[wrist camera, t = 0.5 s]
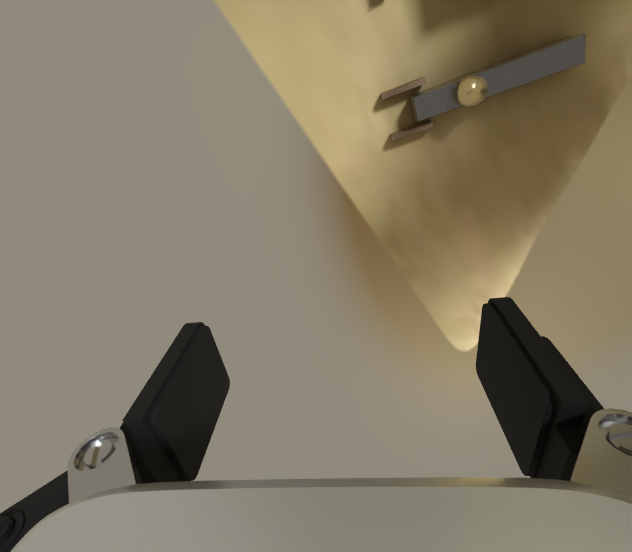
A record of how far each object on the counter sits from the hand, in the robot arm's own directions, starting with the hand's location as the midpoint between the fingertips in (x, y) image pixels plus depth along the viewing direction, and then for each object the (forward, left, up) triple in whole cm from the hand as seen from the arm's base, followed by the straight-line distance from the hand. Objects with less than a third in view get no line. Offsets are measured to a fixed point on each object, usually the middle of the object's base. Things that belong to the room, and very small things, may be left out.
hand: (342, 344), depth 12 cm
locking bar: (-13, -3, -24) cm, 27 cm away
